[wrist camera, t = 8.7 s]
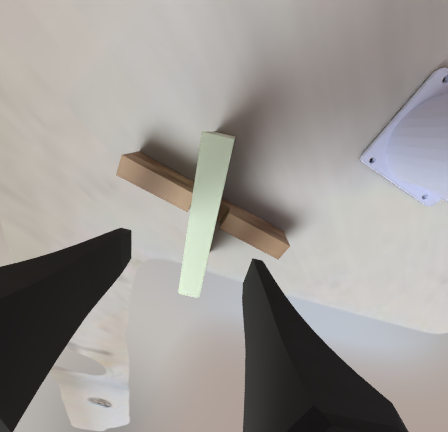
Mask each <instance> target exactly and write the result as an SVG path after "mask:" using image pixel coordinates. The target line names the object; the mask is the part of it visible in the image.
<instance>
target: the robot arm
mask: <svg viewBox="0 0 448 432" xmlns="http://www.w3.org/2000/svg"><path fill="white" fill-rule="evenodd" d="M444 77H445V81H444V82H442V80H443V78H444ZM371 158H373V160H372V162H369V160H370V159H371ZM360 161H361V162H362V163H364V164H365V165H367V166H368V167H370V168H371V169H373V170H374V171H375V172H377V173H378V174H380V175H381V176H383V177H384V178H386V179H387V180H389V181H390V182H392V183H393V184H395V185H396V186H397V187H399V188H400V189H402V190H403V191H405V192H406V193H408V194H409V195H411V196H412V197H414V198H415V199H417V200H418V201H419V202H421V203H422V204H424V205H426V206H432V205H434V204H436V203H437V202H438V201H439V200H440V199H441V200H444V201H447V202H448V68H446V67H445V68H440V69H438V70H436V71H435V72H433V73H432V75H431V76H430V77H429V78H428V79H427V80H426V81H425V83H424V84H423V85H422V86H421V87H420V88H419V90H418V91H417V92H416V93H415V94H414V95H413V96H412V98H411V99H410V100H409V101H408V102H407V103H406V104H405V106H404V107H403V108H402V109H401V110H400V111H399V113H398V114H397V115H396V116H395V117H394V118H393V119H392V121H391V122H390V123H389V124H388V125H387V126H386V127H385V129H384V130H383V131H382V132H381V133H380V134H379V136H378V137H377V138H376V139H375V140H374V141H373V142H372V144H371V145H370V146H369V147H368V148H367V149H366V150H365V152H364V153H363V154H362V155H361V157H360ZM423 195H424V196H423ZM422 196H423V197H422ZM130 259H131V230H128V229H123V228H119V229H116V230H113V231H111V232H108V233H105V234H103V235H100V236H98V237H95V238H93V239H90V240H87V241H85V242H82V243H79V244H77V245H74V246H71V247H68V248H65V249H62V250H59V251H56V252H53V253H50V254H47V255H44V256H40V257H37V258H33V259H30V260H26V261H22V262H19V263H14V264H10V265H6V266H2V267H0V432H13V431H14V429H15V427H16V426H17V424H18V422H19V420H20V419H21V417H22V415H23V414H24V412H25V410H26V409H27V407H28V405H29V404H30V402H31V400H32V399H33V397H34V395H35V394H36V392H37V390H38V389H39V387H40V385H41V384H42V382H43V381H44V379H45V378H46V376H47V374H48V373H49V371H50V370H51V368H52V366H53V365H54V363H55V362H56V360H57V359H58V357H59V355H60V354H61V352H62V351H63V350H64V348H65V347H66V345H67V344H68V342H69V341H70V339H71V338H72V336H73V335H74V333H75V332H76V330H77V329H78V327H79V326H80V325H81V323H82V322H83V320H84V319H85V317H86V316H87V315H88V313H89V312H90V311H91V310H92V308H93V307H94V306H95V305H96V304H97V302H98V301H99V300H100V299H101V298H102V296H103V295H104V294H105V293H106V292H107V290H108V289H109V288H110V287H111V286H112V284H113V283H114V282H115V281H116V280H117V278H118V277H119V276H120V275H121V273H122V272H123V270H124V269H125V267H126V266H127V264H128V263H129V261H130ZM242 303H243V317H244V331H245V348H246V359H245V400H244V423H243V432H408V430H407V428H406V427H405V425H404V423H403V422H402V420H401V418H400V416H399V414H398V413H397V411H396V409H395V408H394V406H393V404H392V403H391V402H390V401H389V400H387V399H386V398H385V397H384V396H383V395H382V394H380V393H379V392H378V391H377V390H376V389H375V388H373V387H372V386H371V385H370V384H369V383H368V382H366V381H365V380H364V379H363V378H362V377H360V376H359V375H358V374H357V373H356V372H355V371H354V370H353V369H352V368H351V367H349V366H348V365H347V364H346V363H345V362H344V361H343V360H342V359H341V358H340V357H339V356H338V355H337V354H336V353H335V352H334V351H332V349H331V348H329V347H328V346H327V344H325V342H324V341H323V340H322V339H321V338H320V337H319V336H318V335H317V334H316V333H315V332H314V331H313V330H312V329H311V327H310V326H309V325H308V324H307V323H306V322H305V321H304V319H303V318H302V317H301V316H300V315H299V313H298V312H297V311H296V310H295V308H294V307H293V306H292V304H291V303H290V302H289V300H288V299H287V298H286V296H285V295H284V293H283V292H282V291H281V289H280V288H279V286H278V285H277V283H276V282H275V280H274V278H273V277H272V275H271V274H270V272H269V270H268V269H267V267H266V265H265V264H264V262H263V261H261V260H257V259H252V261H251V264H250V267H249V269H248V272H247V275H246V277H245V280H244V282H243V295H242Z"/></svg>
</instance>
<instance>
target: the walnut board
mask: <svg viewBox="0 0 448 432" xmlns="http://www.w3.org/2000/svg"><path fill="white" fill-rule="evenodd" d="M116 175H117V176H119V177H121V178H123V179H125V180H127V181H129V182H131V183H133V184H135V185H136V186H138V187H140V188H142V189H144V190H146V191H148V192H150V193H152V194H154V195H156V196H158V197H160V198H161V199H163V200H165V201H167V202H169V203H171V204H173V205H175V206H177V207H179V208H181V209H183V210H184V211H186V212H187V211H188V210H189V208H190V207H191V202H192V195H193V188H194V182H193V181H191V180H189V179H188V178H186V177H184V176H182V175H180V174H179V173H177V172H175V171H173V170H171V169H169V168H168V167H166V166H164V165H162V164H160V163H159V162H157V161H155V160H153V159H151V158H150V157H148V156H146V155H144V154H142V153H141V152H134V153H129V154H124V155H122V156H121V160H120V163H119V167H118V170H117V174H116ZM217 220H218V221H220V222H221V223H220V228H219V229H221V230H223V231H225V232H227V233H229V234H231V235H232V236H234V237H236V238H238V239H240V240H242V241H244V242H246V243H248V244H250V245H252V246H254V247H255V248H257V249H259V250H261V251H263V252H265V253H267V254H269V255H271V256H273V257H275V258H277V259H279V258H280V257H281V256H282V255H283V253H284V252H285V251H286V250H287V249H288V248H289V247H290V245H289V243H288V241H287V238H286V236H285V234H284V232H283V231H282V230H280V229H278V228H276V227H274V226H273V225H271V224H269V223H267V222H265V221H264V220H262V219H260V218H258V217H256V216H254V215H253V214H251V213H249V212H247V211H245V210H244V209H242V208H240V207H238V206H236V205H235V204H233V203H231V202H229V201H227V200H226V199H224V198H221V203H220V207H219V212H218V216H217Z"/></svg>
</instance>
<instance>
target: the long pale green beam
mask: <svg viewBox="0 0 448 432" xmlns="http://www.w3.org/2000/svg"><path fill="white" fill-rule="evenodd" d="M234 141H235V136H231V135H226V134H222V133H218V132H202V134H201V141H200V147H199V154H198V161H197V168H196V175H195V182H194V188H193V195H192V202H191V209H190V216H189V222H188V229H187V236H186V243H185V250H184V256H183V263H182V270H181V277H180V284H179V290H178V294H182V295H187V296H192V297H197V298H199V296H200V291H201V287H202V283H203V278H204V274H205V270H206V266H207V261H208V257H209V253H210V248H211V244H212V239H213V235H214V230H215V226H216V221H217V216H218V212H219V207H220V203H221V198H222V194H223V190H224V185H225V181H226V176H227V172H228V168H229V163H230V159H231V154H232V150H233V145H234Z"/></svg>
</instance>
